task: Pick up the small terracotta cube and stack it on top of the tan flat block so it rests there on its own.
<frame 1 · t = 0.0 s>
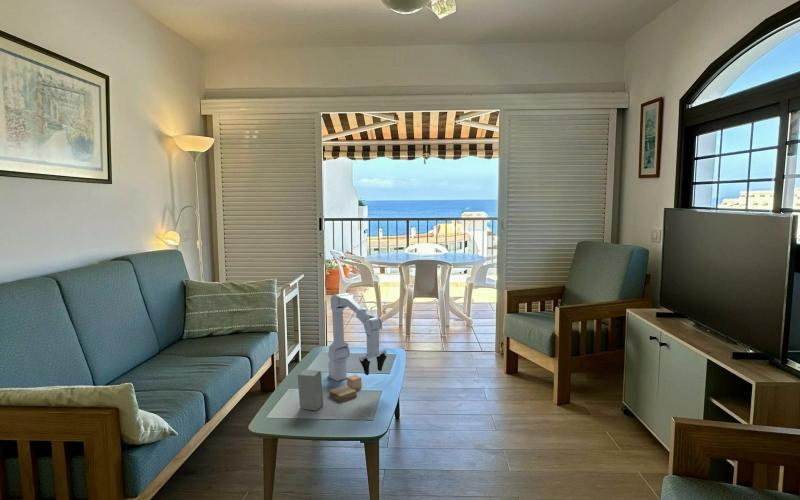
hand: (373, 372, 211), 10 cm above the table, fingers open, 7 cm apart
skincare box: (311, 407, 198), on the table
cube: (354, 387, 220), on the table
tan flat block: (342, 396, 210), on the table
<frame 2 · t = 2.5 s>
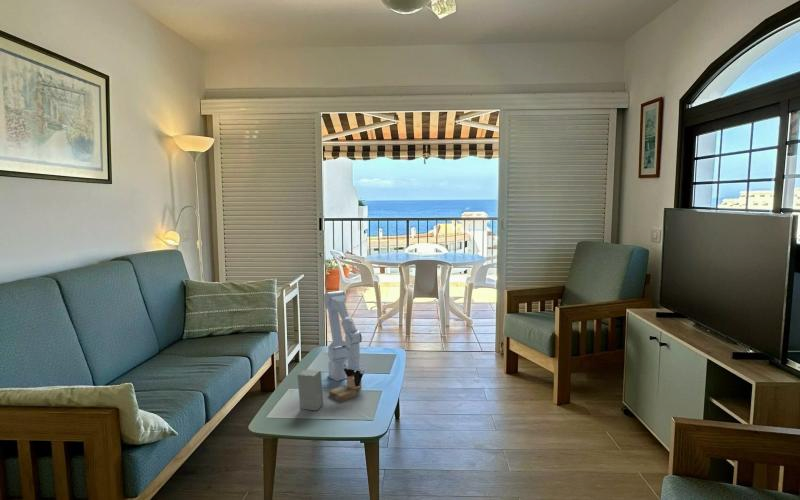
hand: (354, 384, 220), 1 cm above the table, fingers closed on cube, 5 cm apart
cube: (354, 387, 220), on the table, touching gripper
everything else where it was.
when the fingers open (6 cm above the table, at t = 5.5 s): cube drops 1 cm, point 3 cm above the table.
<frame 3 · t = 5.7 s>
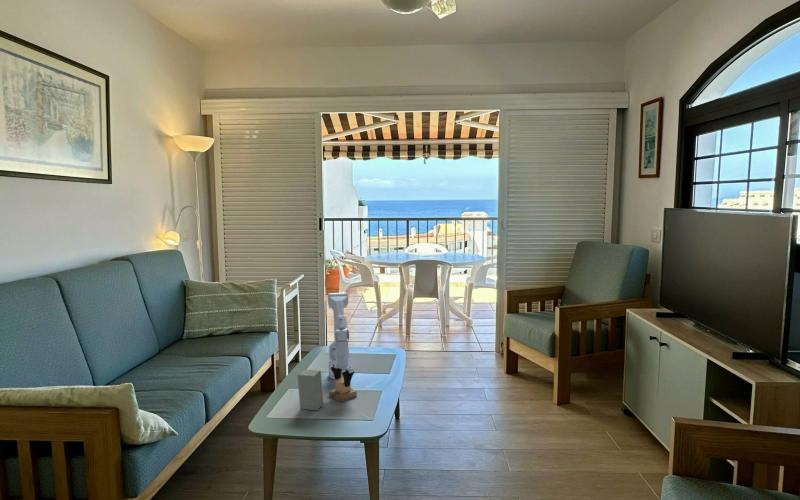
hand: (342, 384, 209), 6 cm above the table, fingers open, 7 cm apart
cube: (343, 390, 210), point 3 cm above the table
everything else where it was.
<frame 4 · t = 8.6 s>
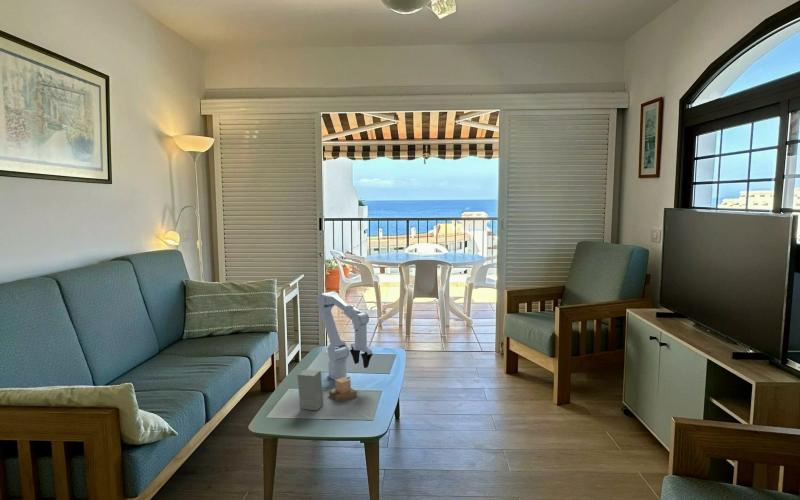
hand: (361, 365, 222), 10 cm above the table, fingers open, 7 cm apart
nothing on the table moved.
at the end: cube inside the target area on the tan flat block (0.2 cm from its centre), point 3.0 cm above the tan flat block's base; cube tilted 1°; the gripper is holding nothing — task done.
